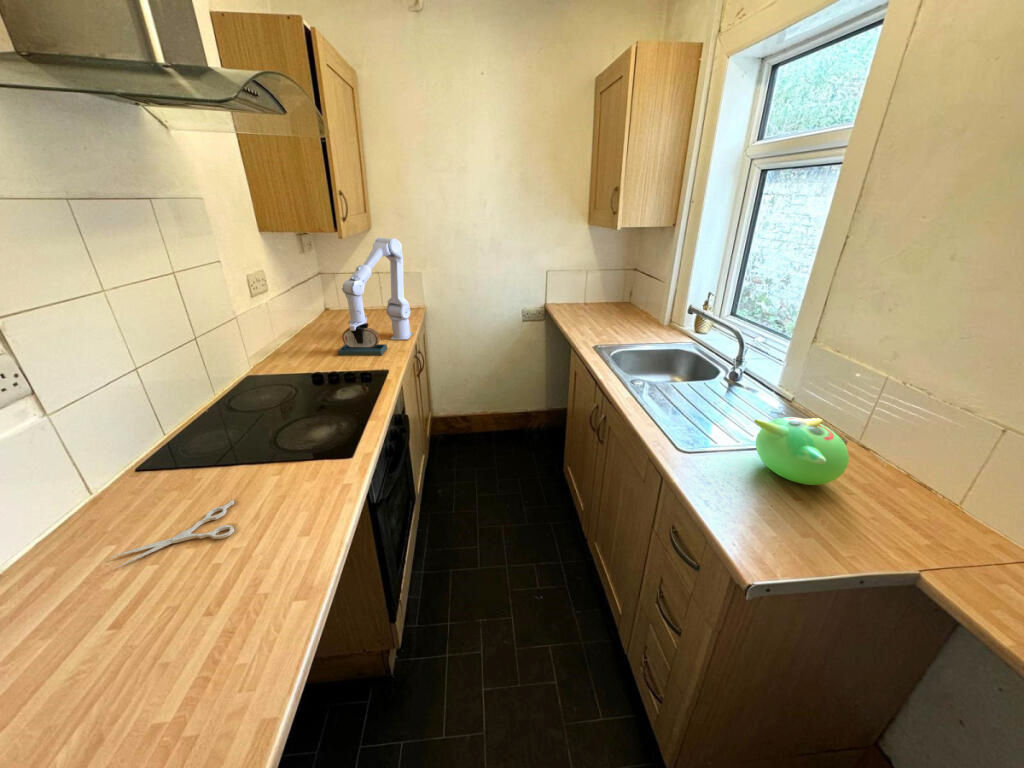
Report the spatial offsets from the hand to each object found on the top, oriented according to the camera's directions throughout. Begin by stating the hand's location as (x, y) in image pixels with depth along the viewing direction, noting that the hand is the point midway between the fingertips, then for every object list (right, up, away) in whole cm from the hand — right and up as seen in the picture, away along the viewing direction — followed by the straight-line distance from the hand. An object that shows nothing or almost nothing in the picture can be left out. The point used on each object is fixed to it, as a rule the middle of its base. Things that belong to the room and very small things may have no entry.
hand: (361, 342), depth 174 cm
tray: (0, -4, +2) cm, 4 cm away
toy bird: (+129, -39, -75) cm, 155 cm away
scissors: (-1, -48, -94) cm, 105 cm away
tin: (0, -2, +1) cm, 3 cm away
